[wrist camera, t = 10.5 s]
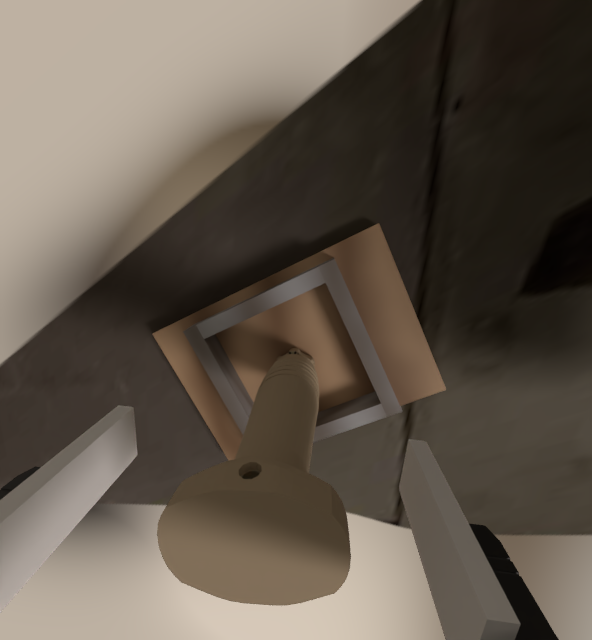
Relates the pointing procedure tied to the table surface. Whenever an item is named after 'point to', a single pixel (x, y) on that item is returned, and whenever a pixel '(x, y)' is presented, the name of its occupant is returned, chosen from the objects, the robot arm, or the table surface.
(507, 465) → the table surface
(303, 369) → the handle
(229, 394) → the collar board
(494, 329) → the table surface
